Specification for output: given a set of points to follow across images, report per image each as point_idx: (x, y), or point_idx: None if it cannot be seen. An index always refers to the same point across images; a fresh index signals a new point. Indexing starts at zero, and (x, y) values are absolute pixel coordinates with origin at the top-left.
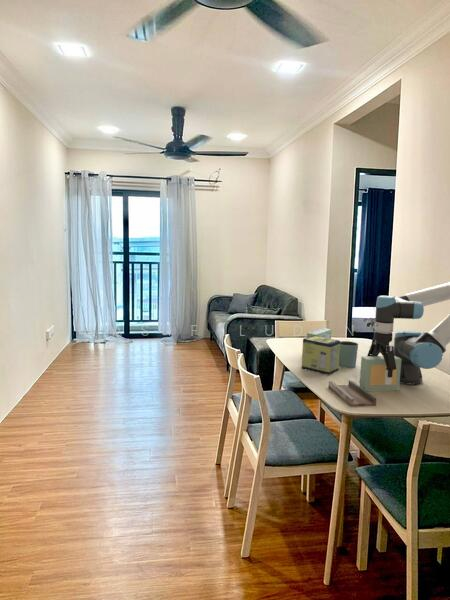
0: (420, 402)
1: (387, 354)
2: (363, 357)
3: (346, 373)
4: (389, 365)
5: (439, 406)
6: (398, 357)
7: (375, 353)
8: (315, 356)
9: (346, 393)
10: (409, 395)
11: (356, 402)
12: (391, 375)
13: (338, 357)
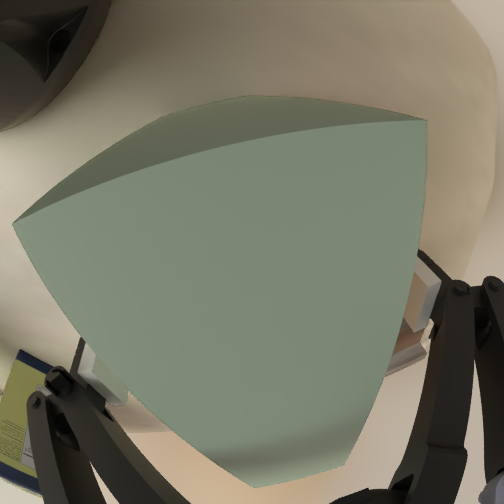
0: (439, 81)
1: (488, 443)
2: (283, 482)
3: (31, 330)
4: (477, 344)
5: (465, 33)
6: (225, 145)
7: (167, 485)
8: None
9: (385, 373)
10: (353, 74)
11: (413, 337)
12: (426, 262)
13: (8, 402)
